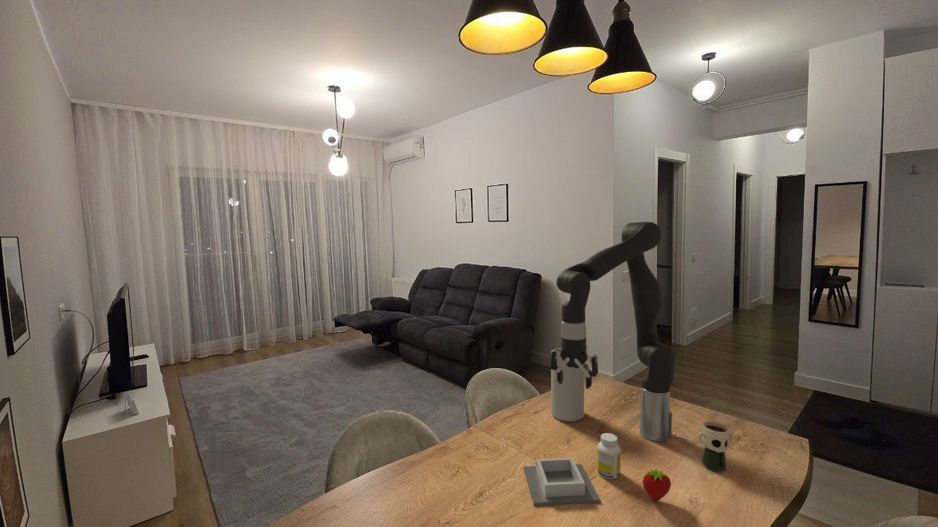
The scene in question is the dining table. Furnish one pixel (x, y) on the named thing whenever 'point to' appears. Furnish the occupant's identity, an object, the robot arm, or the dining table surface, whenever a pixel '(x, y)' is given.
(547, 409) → the dining table surface
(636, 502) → the dining table surface
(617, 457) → the pill bottle
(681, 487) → the dining table surface
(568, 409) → the cylinder vase
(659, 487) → the strawberry
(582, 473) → the bottle holder
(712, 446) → the character mug
